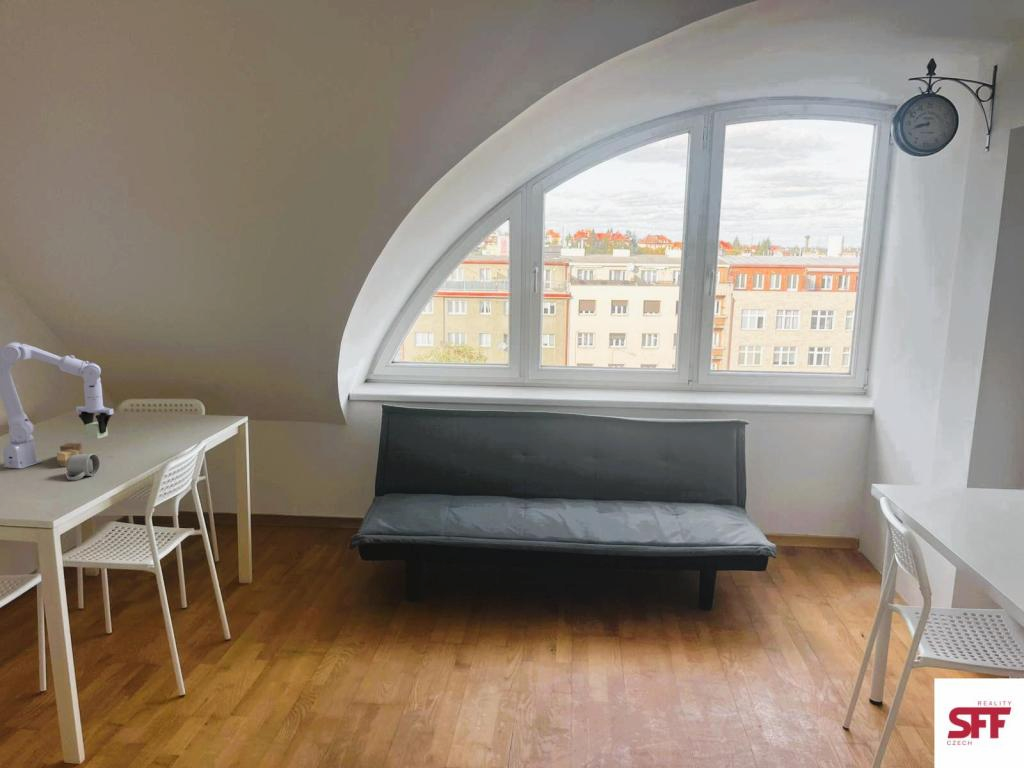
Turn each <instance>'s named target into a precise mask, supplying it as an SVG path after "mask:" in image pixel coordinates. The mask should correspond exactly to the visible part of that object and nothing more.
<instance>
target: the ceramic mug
mask: <svg viewBox="0 0 1024 768" xmlns="http://www.w3.org/2000/svg"><path fill="white" fill-rule="evenodd" d="M100 463H101V462H100V459H99V456H98V455H97V453H82V454H77V455H72V456H70V457H69V458H68V460H67V463H66V467H65V468H66V471H67V472H66V473H65V477H66V478H67V479H66V480H69V481H70V480H75V481H78V480H81V479H82V478H84V477H94V476H95V475H97V474H98V472H99V470H100V465H101V464H100ZM93 475H94V476H93Z"/></svg>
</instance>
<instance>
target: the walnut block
mask: <svg viewBox="0 0 1024 768" xmlns="http://www.w3.org/2000/svg"><path fill="white" fill-rule="evenodd" d="M82 444H83V443H82V442H67V443H65V444H62V445H60V446H59V451H63V450H67V449H73V450H77V451H79V454H83V445H82Z"/></svg>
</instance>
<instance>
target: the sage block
mask: <svg viewBox="0 0 1024 768" xmlns="http://www.w3.org/2000/svg"><path fill="white" fill-rule="evenodd" d="M84 427H85V436H86V439H101V438H104V437H108V436H109V433H108V427H107V428H106V432H105V433H100V431H99V424H98V421H93V423H89V424H86V425H84Z"/></svg>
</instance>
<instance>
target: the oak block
mask: <svg viewBox="0 0 1024 768" xmlns="http://www.w3.org/2000/svg"><path fill="white" fill-rule="evenodd" d="M77 454H79V451H77V450H73V449H67V450H63V451H60V450H59V451H56V461H57V466H59V465H62V466H61V467H63V466H65V467H64V468H66V463H67V460H68V458H69V457H70V456H72V455H77Z"/></svg>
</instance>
